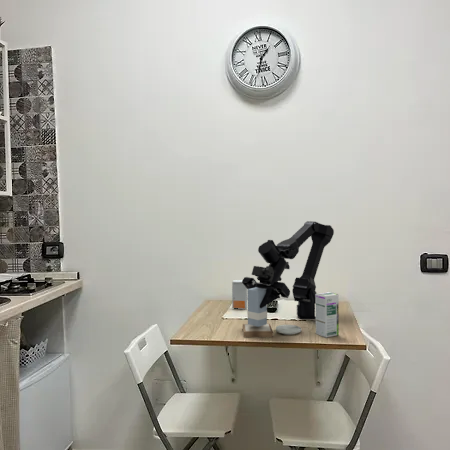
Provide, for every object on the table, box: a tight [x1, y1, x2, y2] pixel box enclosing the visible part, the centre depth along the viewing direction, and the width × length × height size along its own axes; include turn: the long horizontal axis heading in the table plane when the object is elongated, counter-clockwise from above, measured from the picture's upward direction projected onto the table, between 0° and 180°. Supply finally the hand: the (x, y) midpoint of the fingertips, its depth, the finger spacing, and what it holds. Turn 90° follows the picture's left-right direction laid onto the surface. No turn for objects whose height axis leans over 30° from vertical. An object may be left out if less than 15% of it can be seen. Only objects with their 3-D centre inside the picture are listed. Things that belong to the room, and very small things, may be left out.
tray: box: [242, 323, 274, 338], centre depth 170 cm, size 10×10×2 cm
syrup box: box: [315, 291, 340, 338], centre depth 167 cm, size 6×6×14 cm
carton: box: [247, 287, 268, 327], centre depth 170 cm, size 5×5×12 cm
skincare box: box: [231, 279, 248, 310], centre depth 207 cm, size 6×4×12 cm
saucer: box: [275, 324, 302, 335], centre depth 170 cm, size 9×9×2 cm
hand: (254, 306), depth 169 cm, fingers closed on carton, 5 cm apart
